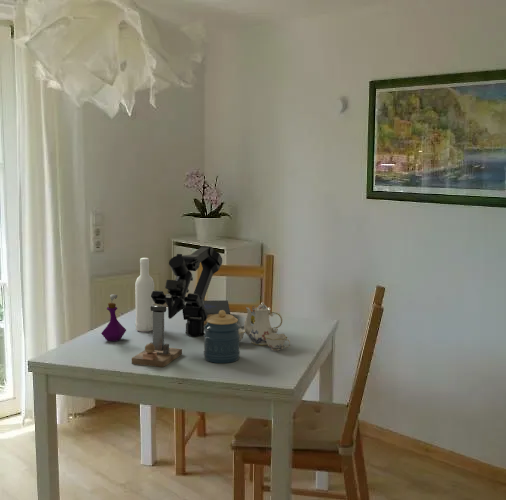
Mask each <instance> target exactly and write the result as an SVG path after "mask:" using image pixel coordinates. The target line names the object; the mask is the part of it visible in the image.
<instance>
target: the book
mask: <svg viewBox="0 0 506 500" xmlns="http://www.w3.org/2000/svg"><path fill="white" fill-rule="evenodd" d="M203 302H204V305H205V310H206V312H207V314H208V317H207V318H209V317H210V316H211V315H215V314H218V313H219V311H220V310H224V311H225V312H226V314H229V315H231V310H230V309H231V308H230V304H229V301H228V300H204V301H203ZM205 324H207V321H204V325H205Z"/></svg>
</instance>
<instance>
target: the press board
mask: <svg viewBox="0 0 506 500" xmlns="http://www.w3.org/2000/svg"><path fill="white" fill-rule="evenodd" d="M182 355H183V348H174V347H170V343H164V345H163V351H157V350H155V346H154V345H153V341H150V342H149V343H147V344H146V345H145V346H144V350H142V351H141V352H139V353H137V354H135V356H133V357H131V364H133V365H142V366H150V367H159V368H164V367H166V366H167V365H169V364H171V362H173V361H174V360H176V359H178V358H179V357H180V356H182Z"/></svg>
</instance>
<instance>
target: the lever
mask: <svg viewBox="0 0 506 500" xmlns="http://www.w3.org/2000/svg"><path fill="white" fill-rule="evenodd" d="M151 311H153V331H152V342H153V345H154V346H155V350H157V351H163V345H165V313H166V311H167V306H163V305H154V306H153V305H152V306H151Z"/></svg>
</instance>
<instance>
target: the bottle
mask: <svg viewBox="0 0 506 500" xmlns="http://www.w3.org/2000/svg"><path fill="white" fill-rule="evenodd" d="M139 266H140V267H139V268H140V269H139V271H140V272H139V274H140V275H139V276H138V277H137V278H136V280H135V283H134V284H135V286H134V288H135V290H134V293H135V298H134V299H135V323H134V325H135V331H137V332H144V333H147V332H153V311H151V306H152V305H153V306H155V303H154V301H153V299H152V297H151V294H152V292H153V291H155V281H154V279H153V277H152V276H151V275H150V258H149V257H141V258H140V259H139Z"/></svg>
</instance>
